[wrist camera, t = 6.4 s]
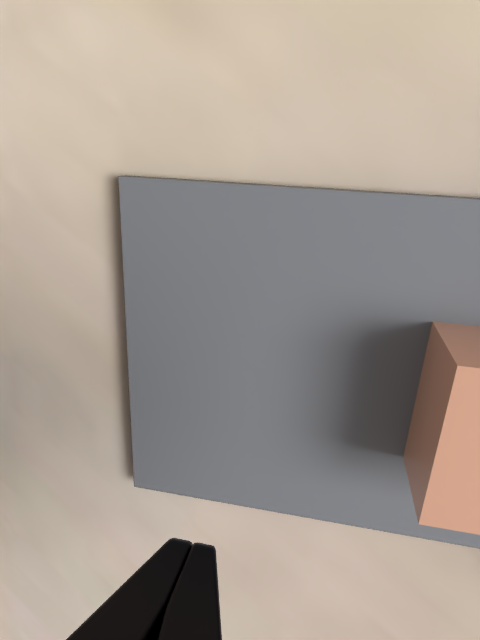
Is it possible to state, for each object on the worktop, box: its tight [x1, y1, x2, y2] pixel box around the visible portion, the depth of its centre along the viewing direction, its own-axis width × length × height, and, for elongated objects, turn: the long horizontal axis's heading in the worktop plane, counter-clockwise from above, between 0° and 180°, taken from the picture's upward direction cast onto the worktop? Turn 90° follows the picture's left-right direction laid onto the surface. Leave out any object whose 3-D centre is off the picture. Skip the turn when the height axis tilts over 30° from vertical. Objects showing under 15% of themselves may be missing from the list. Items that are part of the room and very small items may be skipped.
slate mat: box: [119, 176, 480, 549], centre depth 14 cm, size 18×12×3 cm, turn 88°
